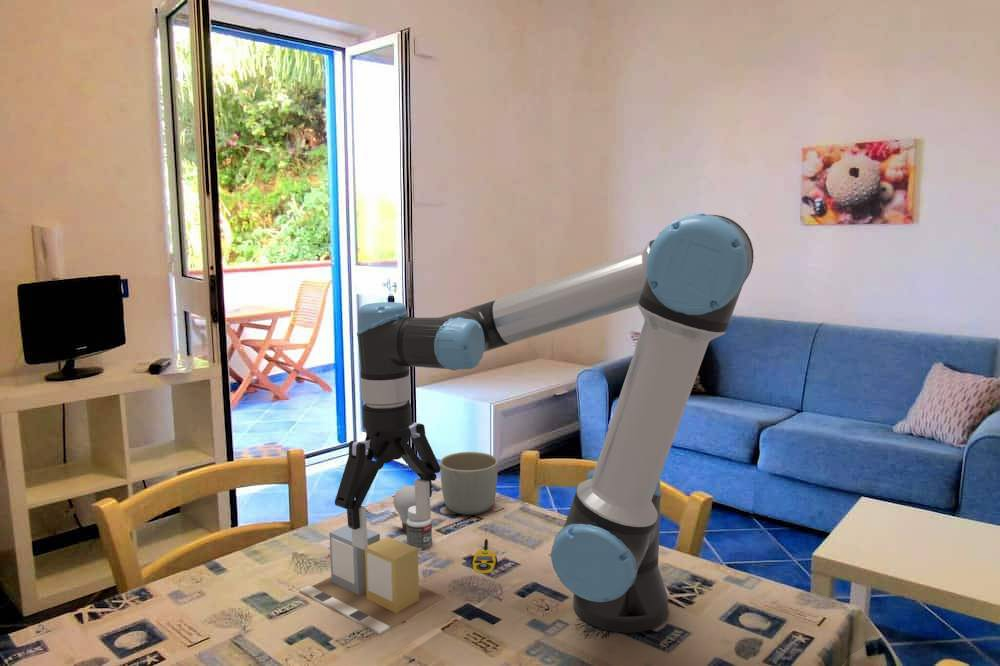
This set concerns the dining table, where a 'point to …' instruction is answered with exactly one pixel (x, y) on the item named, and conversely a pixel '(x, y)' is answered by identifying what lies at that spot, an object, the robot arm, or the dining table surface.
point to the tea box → (392, 574)
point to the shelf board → (366, 605)
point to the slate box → (349, 559)
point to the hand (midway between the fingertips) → (393, 531)
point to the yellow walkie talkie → (484, 560)
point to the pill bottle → (418, 531)
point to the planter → (469, 481)
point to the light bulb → (404, 502)
